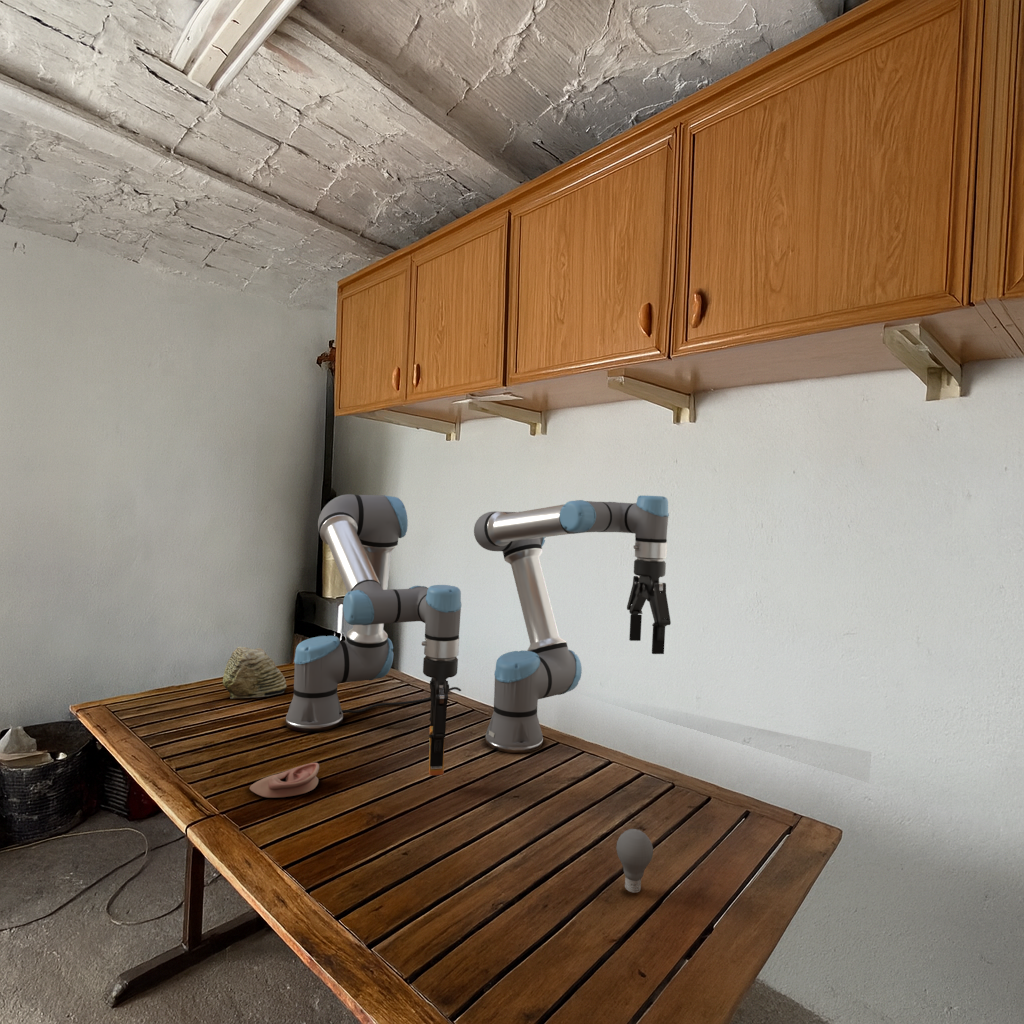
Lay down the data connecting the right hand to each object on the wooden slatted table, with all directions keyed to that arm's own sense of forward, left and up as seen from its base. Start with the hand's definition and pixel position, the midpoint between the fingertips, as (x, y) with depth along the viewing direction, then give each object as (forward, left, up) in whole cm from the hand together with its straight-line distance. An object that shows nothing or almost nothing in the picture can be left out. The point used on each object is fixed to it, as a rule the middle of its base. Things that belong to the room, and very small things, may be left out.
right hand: (645, 646), depth 153 cm
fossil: (+20, -119, -30) cm, 124 cm away
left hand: (+37, -34, -24) cm, 56 cm away
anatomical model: (+56, -60, -30) cm, 88 cm away
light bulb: (+47, +16, -30) cm, 58 cm away
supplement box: (+37, -34, -27) cm, 57 cm away
